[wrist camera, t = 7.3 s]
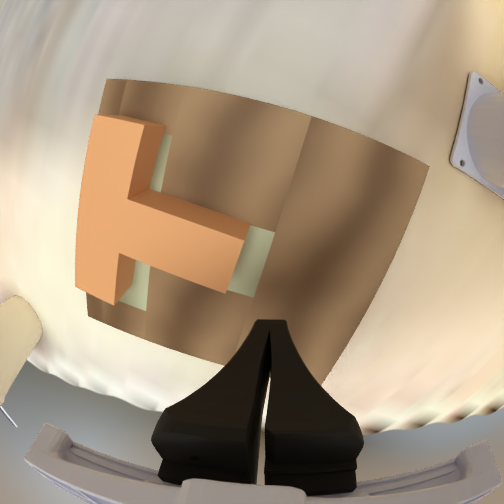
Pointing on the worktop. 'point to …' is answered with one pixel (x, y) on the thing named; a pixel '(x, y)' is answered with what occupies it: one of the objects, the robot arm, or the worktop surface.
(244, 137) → the board
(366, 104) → the worktop surface
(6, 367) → the foam cup
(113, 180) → the t block
